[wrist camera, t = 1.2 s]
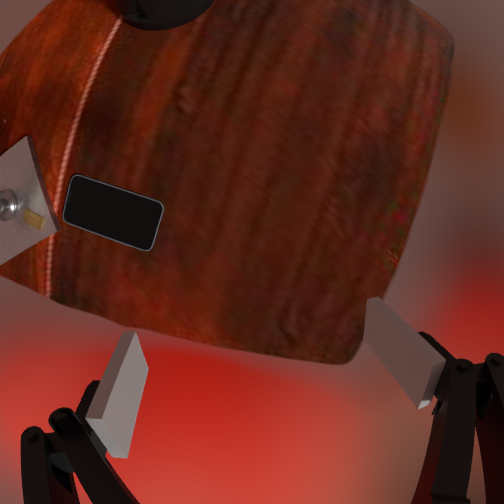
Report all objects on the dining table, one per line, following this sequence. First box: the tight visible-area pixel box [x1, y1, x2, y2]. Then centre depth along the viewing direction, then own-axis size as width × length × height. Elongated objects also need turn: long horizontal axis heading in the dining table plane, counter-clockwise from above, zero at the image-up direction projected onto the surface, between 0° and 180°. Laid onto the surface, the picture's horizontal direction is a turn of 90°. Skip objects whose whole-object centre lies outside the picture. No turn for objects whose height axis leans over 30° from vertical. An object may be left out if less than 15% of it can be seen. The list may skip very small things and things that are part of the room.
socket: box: [0, 136, 61, 265], centre depth 32 cm, size 16×16×6 cm
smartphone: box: [63, 175, 164, 251], centre depth 38 cm, size 7×1×15 cm
